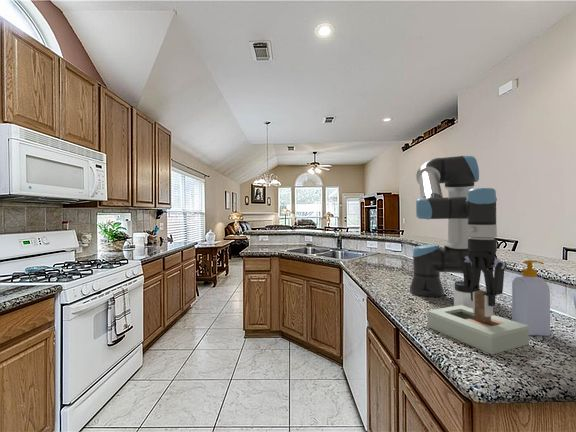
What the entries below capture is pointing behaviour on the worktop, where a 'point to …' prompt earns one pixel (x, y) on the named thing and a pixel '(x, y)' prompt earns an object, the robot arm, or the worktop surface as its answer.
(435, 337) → the worktop surface
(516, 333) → the keyhole box
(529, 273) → the soap bottle
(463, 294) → the jar
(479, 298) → the bolt peg
